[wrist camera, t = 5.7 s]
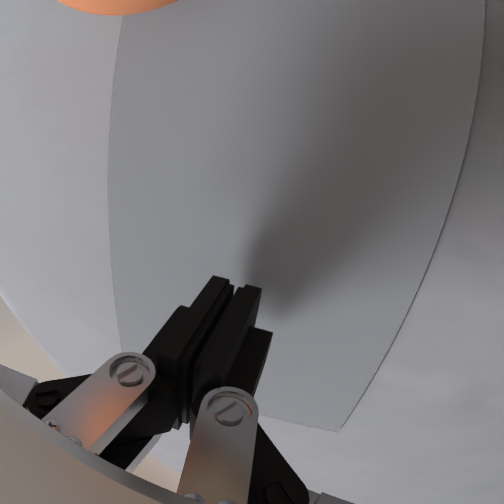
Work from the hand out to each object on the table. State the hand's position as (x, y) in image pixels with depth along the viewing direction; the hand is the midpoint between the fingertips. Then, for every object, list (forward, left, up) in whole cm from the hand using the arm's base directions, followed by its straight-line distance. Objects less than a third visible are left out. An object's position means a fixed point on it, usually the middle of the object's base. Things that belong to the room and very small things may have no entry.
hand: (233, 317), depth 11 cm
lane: (0, -9, -2) cm, 9 cm away
